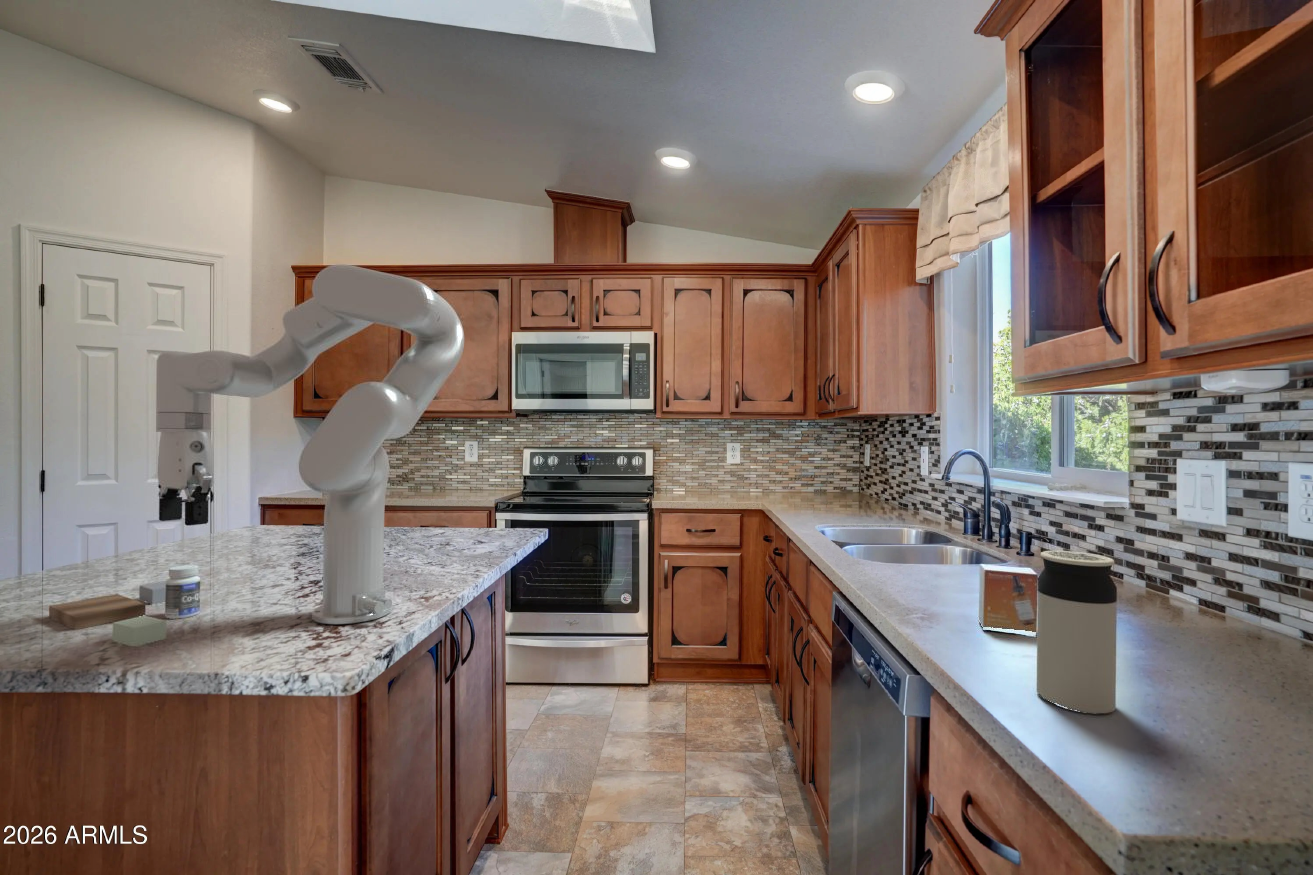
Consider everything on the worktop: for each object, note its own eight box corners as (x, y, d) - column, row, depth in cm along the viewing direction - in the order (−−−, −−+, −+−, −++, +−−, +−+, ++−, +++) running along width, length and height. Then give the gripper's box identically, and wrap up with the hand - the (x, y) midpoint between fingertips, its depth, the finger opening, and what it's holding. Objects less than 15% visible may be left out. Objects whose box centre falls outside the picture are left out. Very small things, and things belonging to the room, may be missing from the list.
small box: (982, 631, 100) (983, 569, 100) (978, 622, 105) (978, 562, 105) (1037, 638, 97) (1038, 573, 97) (1030, 628, 102) (1031, 567, 102)
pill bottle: (184, 619, 100) (185, 570, 100) (157, 619, 100) (158, 569, 100) (206, 611, 105) (207, 564, 105) (180, 610, 105) (181, 563, 105)
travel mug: (1089, 721, 68) (1091, 564, 68) (1022, 693, 75) (1023, 552, 75) (1130, 709, 71) (1132, 559, 71) (1062, 683, 78) (1063, 548, 78)
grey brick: (178, 601, 112) (178, 585, 112) (152, 606, 109) (152, 589, 109) (165, 596, 115) (165, 581, 115) (139, 601, 112) (139, 585, 112)
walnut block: (145, 615, 102) (145, 603, 102) (74, 629, 94) (75, 617, 94) (117, 604, 108) (117, 593, 108) (49, 617, 100) (49, 605, 100)
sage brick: (165, 640, 91) (166, 620, 91) (134, 648, 87) (134, 628, 87) (144, 634, 93) (144, 615, 93) (112, 642, 90) (112, 622, 90)
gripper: (233, 424, 102) (232, 523, 102) (186, 424, 110) (185, 516, 110) (181, 423, 95) (180, 529, 95) (136, 423, 104) (135, 520, 104)
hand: (183, 522), depth 103 cm, fingers open, 9 cm apart
